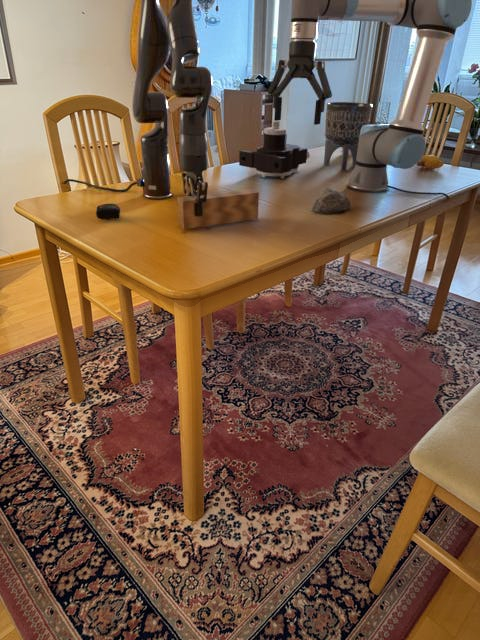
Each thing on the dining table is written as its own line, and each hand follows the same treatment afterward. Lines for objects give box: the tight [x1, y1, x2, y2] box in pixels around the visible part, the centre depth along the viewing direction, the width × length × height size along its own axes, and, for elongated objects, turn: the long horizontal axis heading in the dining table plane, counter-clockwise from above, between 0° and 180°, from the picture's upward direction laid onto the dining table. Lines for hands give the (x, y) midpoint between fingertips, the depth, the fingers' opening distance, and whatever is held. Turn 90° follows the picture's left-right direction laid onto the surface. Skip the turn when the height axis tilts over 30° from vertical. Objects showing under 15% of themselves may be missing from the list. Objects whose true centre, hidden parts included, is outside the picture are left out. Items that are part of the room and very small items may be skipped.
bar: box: [176, 188, 260, 230], centre depth 133 cm, size 24×4×8 cm, turn 117°
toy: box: [416, 154, 445, 171], centre depth 211 cm, size 11×6×15 cm
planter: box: [323, 101, 374, 172], centre depth 204 cm, size 20×20×26 cm
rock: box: [312, 187, 352, 214], centre depth 148 cm, size 13×9×6 cm, turn 131°
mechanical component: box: [238, 120, 311, 179], centre depth 191 cm, size 22×21×30 cm
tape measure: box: [95, 203, 121, 221], centre depth 137 cm, size 7×7×4 cm
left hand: (195, 213), depth 130 cm, fingers closed on bar, 4 cm apart
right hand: (296, 122), depth 139 cm, fingers open, 13 cm apart
